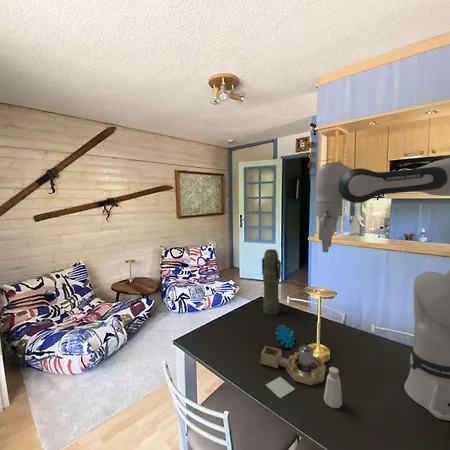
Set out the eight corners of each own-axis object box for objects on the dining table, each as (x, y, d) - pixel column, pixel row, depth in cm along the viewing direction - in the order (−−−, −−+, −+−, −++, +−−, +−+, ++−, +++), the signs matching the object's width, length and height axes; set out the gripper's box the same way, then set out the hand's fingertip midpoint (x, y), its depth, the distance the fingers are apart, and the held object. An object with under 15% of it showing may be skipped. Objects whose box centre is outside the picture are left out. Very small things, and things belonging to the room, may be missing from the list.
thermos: (266, 306, 150) (266, 247, 146) (284, 311, 142) (284, 250, 138) (257, 311, 143) (257, 250, 139) (276, 317, 136) (276, 253, 131)
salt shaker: (331, 410, 77) (332, 377, 76) (320, 397, 82) (320, 365, 81) (346, 406, 79) (347, 373, 77) (334, 393, 84) (335, 362, 82)
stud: (316, 369, 95) (317, 344, 94) (314, 381, 89) (314, 355, 88) (298, 364, 98) (298, 340, 97) (294, 375, 92) (294, 350, 91)
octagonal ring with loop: (326, 366, 97) (326, 355, 96) (322, 389, 85) (322, 378, 85) (268, 350, 107) (268, 340, 106) (257, 369, 95) (257, 358, 95)
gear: (284, 349, 105) (273, 326, 110) (276, 354, 108) (265, 331, 114) (301, 343, 112) (289, 321, 117) (292, 348, 115) (281, 326, 121)
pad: (280, 377, 92) (280, 376, 92) (295, 389, 86) (295, 388, 86) (265, 385, 88) (265, 384, 88) (280, 398, 82) (280, 398, 82)
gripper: (336, 212, 78) (334, 256, 80) (340, 208, 96) (338, 244, 98) (314, 212, 81) (313, 254, 83) (322, 208, 99) (321, 243, 101)
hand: (326, 249), depth 91 cm, fingers open, 8 cm apart
